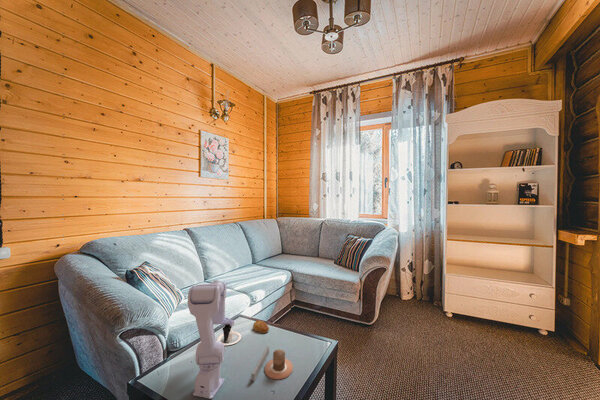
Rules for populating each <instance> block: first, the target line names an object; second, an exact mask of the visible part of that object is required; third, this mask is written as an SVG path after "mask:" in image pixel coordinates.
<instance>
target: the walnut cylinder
mask: <svg viewBox="0 0 600 400" xmlns="http://www.w3.org/2000/svg"><path fill="white" fill-rule="evenodd" d="M272 359H273V369H274V370H275V371H282V370H283V369H284V368H285V359H286V352H285V351H284V350H283V349H276V350H274V351H273V353H272Z"/></svg>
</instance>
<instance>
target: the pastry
mask: <svg viewBox="0 0 600 400" xmlns="http://www.w3.org/2000/svg"><path fill="white" fill-rule="evenodd" d="M252 328H253V331H255V332H257V331H258V332H257V333H260V332H262V333H261V334H266V333H268V332H269V330H270V326H268V324H267V323H266V322H265V321H263V320H260V319H258V320H256V321H255V322H254V323H253V325H252Z"/></svg>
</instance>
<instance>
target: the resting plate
mask: <svg viewBox="0 0 600 400" xmlns="http://www.w3.org/2000/svg"><path fill="white" fill-rule="evenodd" d="M293 369H294V366H293V363H292V361H290V360H289V359H287V358H285V368H284V369H283V370H282V371H275V370H274V369H273V358H272V359H270V360H268V361H267V362H266V363H265V364H264V373H265V375H266V376H267V377H268V378H270V379H272V380H283V379H285V378H288V377H289V376H290V375H292V373H293V371H294V370H293Z"/></svg>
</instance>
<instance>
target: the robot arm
mask: <svg viewBox="0 0 600 400" xmlns="http://www.w3.org/2000/svg"><path fill="white" fill-rule="evenodd" d="M226 294H227V283H225V281H224V282H221V281H219V280H217V279H216V280H213V281H212V282H210V283H201V284H196V285H192V286H191V287H190V288H189V289H188V293H187V306H188V310H189V314H190V315H192V316H193V317H195V322H196V327H197V329H198V335H199V339H200V342H199V343H198V344H197V346H196V350H195V353H194V354H195V364H196V365H197V366H198V368H199V371H198V373H197V375H196V376H195V379H194V392H193V393H192V395H193V396H195V397H200V398H205V399H211V400H212V399H214V396H215V395H216V394H217V392H218V391H219V389H220V388H221V386H222V385H223V384H224V382H225V380H226V379H225V378H222V377H221V364H222V363H223V362H224V360H225V353H226V352H225V350H226V349H225V346H226V345H223V343H227V342H228V341H227V340H228V336H229V332H230V330H231V329H232V327H233V326H234V325H235V319H231V318H228V317H226V297H227V296H226ZM214 325H224V326H223V327H222V331H223V333H224V336H223V342H222V341H218V340H217V339H216V336H215V335H216V334H215V329H214Z"/></svg>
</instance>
